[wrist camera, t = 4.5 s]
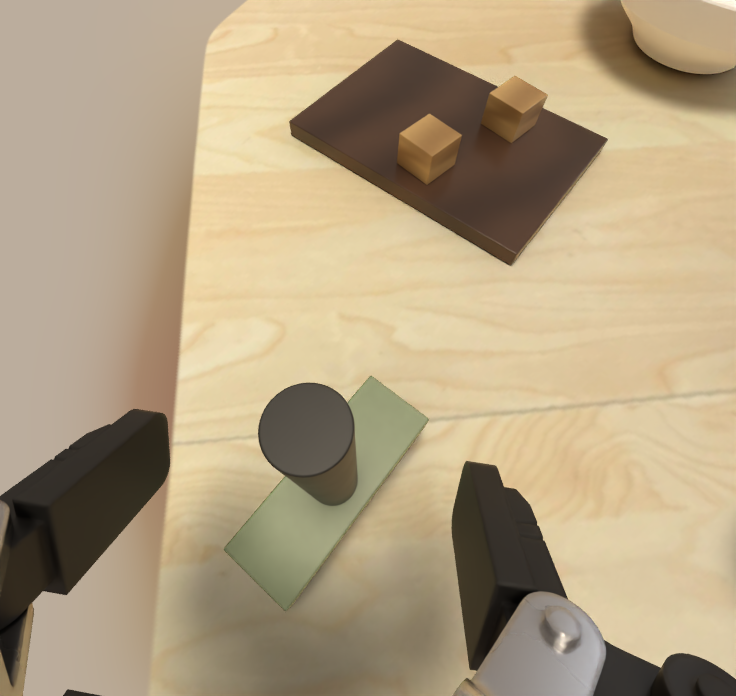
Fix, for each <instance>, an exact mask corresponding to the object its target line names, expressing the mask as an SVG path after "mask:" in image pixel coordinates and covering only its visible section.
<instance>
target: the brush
mask: <svg viewBox="0 0 736 696" xmlns="http://www.w3.org/2000/svg"><path fill="white" fill-rule="evenodd" d="M428 421H429V419H428V418H427V417H426V416H424V415H423V414H422V413H420V412H419V411H418V410H416V409H415V408H414V407H412V406H411V405H410V404H408V403H407V402H406V401H404V400H403V399H402V398H400V397H399V396H398V395H396V394H395V393H394V392H392V391H391V390H390V389H388V388H387V387H386V386H384V385H383V384H382V383H380V382H379V381H378V380H376V379H375V378H374V377H372V376H370V377H369V378H368V379H367V380H366V381H365V383H364V384H363V385H362V386H361V387H360V389H359V390H358V391H357V392H356V393H355V394H354V396H353V397H352V398H351V399H350V400H349V402H348V403H347V402H346V400H345V399H344V398H343V397H342V396H341V395H340V394H339V393H338V392H337V391H335V390H334V389H332V388H330V387H328V386H325V385H322V384H318V383H301V384H296V385H293V386H290V387H288V388H286V389H284V390H283V391H281V392H280V393H278V394H277V395H276V396H275V397H274V398H273V399H272V400H271V401H270V402H269V403H268V405H267V406H266V408H265V409H264V411H263V414H262V416H261V419H260V423H259V429H258V437H259V443H260V447H261V450H262V452H263V454H264V456H265V458H266V459H267V460H268V462H269V463H270V464H271V465H272V466H273V467H274V468H276V469H277V470H278V471H279V472H281V473H282V474H283V475H285V477H284V478H283V479H282V481H281V482H280V483H279V484H278V485H277V486H276V488H275V489H274V490H273V491H272V492H271V494H270V495H269V496H268V497H267V498H266V499H265V501H264V502H263V503H262V504H261V505H260V507H259V508H258V509H257V510H256V511H255V512H254V514H253V515H252V516H251V517H250V518H249V519H248V521H247V522H246V523H245V524H244V525H243V527H242V528H241V529H240V530H239V531H238V532H237V534H236V535H235V536H234V537H233V538H232V540H231V541H230V542H229V543H228V544H227V545H226V547H225V548H224V551H225V552H226V553H227V554H228V555H229V556H230V557H231V558H232V559H233V560H234V561H235V562H236V563H237V564H238V565H239V566H240V567H241V568H242V569H243V570H244V571H245V572H246V573H247V574H248V575H249V576H250V577H251V578H252V579H253V580H254V581H255V582H256V583H257V584H258V585H259V586H260V587H261V588H262V589H263V590H264V591H265V592H266V593H267V594H268V595H269V596H270V597H271V598H272V599H273V600H274V601H275V602H276V603H277V604H278V605H279V606H280V607H281V608H282V609H283V610H284V611H287V610H288V609H289V608H290V607H291V606H292V605H293V604H294V602H295V601H296V600H297V598H298V597H299V596H300V594H301V593H302V592H303V590H304V589H305V587H306V586H307V585H308V583H309V582H310V581H311V579H312V578H313V577H314V575H315V574H316V573H317V571H318V570H319V569H320V567H321V566H322V565H323V563H324V562H325V561H326V559H327V558H328V556H329V555H330V554H331V552H332V551H333V550H334V548H335V547H336V546H337V544H338V543H339V542H340V540H341V539H342V538H343V536H344V535H345V534H346V532H347V531H348V530H349V528H350V527H351V526H352V524H353V523H354V521H355V520H356V519H357V517H358V516H359V515H360V513H361V512H362V511H363V509H364V508H365V507H366V505H367V504H368V503H369V501H370V500H371V499H372V497H373V496H374V495H375V493H376V492H377V490H378V489H379V488H380V486H381V485H382V484H383V482H384V481H385V480H386V478H387V477H388V476H389V474H390V473H391V472H392V470H393V469H394V468H395V466H396V465H397V464H398V462H399V461H400V459H401V458H402V457H403V455H404V454H405V453H406V451H407V450H408V449H409V447H410V446H411V445H412V443H413V442H414V441H415V439H416V438H417V437H418V435H419V434H420V433H421V431H422V430H423V429H424V427H425V426H426V424H427V422H428Z"/></svg>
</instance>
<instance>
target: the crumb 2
mask: <svg viewBox="0 0 736 696" xmlns="http://www.w3.org/2000/svg"><path fill="white" fill-rule="evenodd" d="M547 96H548V95H547V94H546V93H544V92H542V91H541V90H539V89H537V88H535V87H534V86H532V85H530V84H528V83H527V82H525V81H523V80H522V79H520V78H518V77H516V76H514V77H512V78H511V79H509V80H508V81H506V82H505V83H504V84H502V85H501V86H499V87H498V88H496V89H495V90H493V91H492V92H490V94H489V97H488V100H487V104H486V107H485V111H484V114H483V117H482V121H481V124H482V125H484V126H485V127H487V128H488V129H490V130H491V131H493V132H495V133H496V134H498V135H499V136H501V137H502V138H504V139H505V140H507V141H509V142H510V143H512V142H514V141H515V140H516V139H518V138H519V137H520V136H522V135H523V134H524V133H525V132H527V131H528V130H529V129H531V128H532V127H533V126H535V124H536V122H537V119H538V117H539V115H540V112H541V110H542V108H543V105H544V103H545V101H546V98H547Z"/></svg>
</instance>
